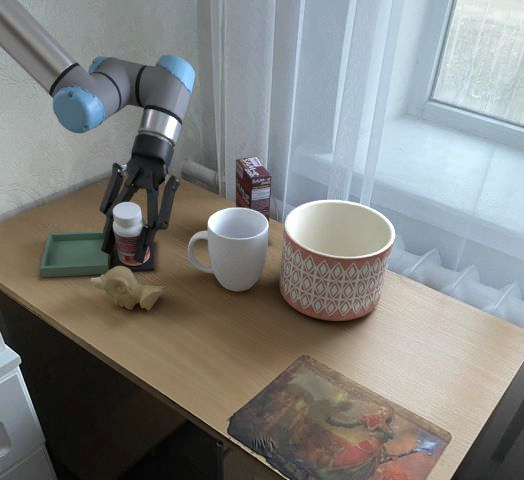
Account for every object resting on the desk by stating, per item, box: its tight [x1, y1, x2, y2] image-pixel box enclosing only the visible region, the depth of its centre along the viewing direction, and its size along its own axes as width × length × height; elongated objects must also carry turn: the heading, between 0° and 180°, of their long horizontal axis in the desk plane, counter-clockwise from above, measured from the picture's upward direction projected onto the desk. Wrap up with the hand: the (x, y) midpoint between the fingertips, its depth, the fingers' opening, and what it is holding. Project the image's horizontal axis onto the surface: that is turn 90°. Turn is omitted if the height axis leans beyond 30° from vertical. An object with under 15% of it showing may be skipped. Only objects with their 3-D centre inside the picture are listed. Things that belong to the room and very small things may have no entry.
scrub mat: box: [112, 241, 155, 273], centre depth 109 cm, size 10×8×1 cm
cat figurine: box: [90, 266, 165, 311], centre depth 96 cm, size 8×7×12 cm
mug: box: [187, 207, 269, 292], centre depth 100 cm, size 15×11×13 cm
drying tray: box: [39, 230, 112, 278], centre depth 108 cm, size 13×13×2 cm
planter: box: [279, 199, 396, 322], centre depth 98 cm, size 19×19×15 cm
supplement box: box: [235, 156, 273, 234], centre depth 111 cm, size 9×5×16 cm, turn 22°
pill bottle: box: [113, 201, 150, 266], centre depth 103 cm, size 6×6×11 cm
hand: (122, 257), depth 102 cm, fingers closed on pill bottle, 6 cm apart
